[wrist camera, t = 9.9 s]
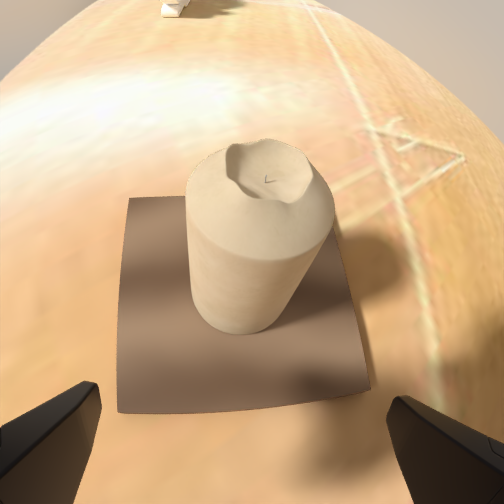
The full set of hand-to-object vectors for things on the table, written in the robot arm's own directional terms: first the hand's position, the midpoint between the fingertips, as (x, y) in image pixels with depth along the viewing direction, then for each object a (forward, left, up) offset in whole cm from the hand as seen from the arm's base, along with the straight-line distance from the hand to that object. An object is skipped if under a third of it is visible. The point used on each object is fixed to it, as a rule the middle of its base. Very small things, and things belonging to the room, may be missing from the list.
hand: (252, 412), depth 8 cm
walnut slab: (+7, -1, -9) cm, 12 cm away
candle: (+7, -1, -8) cm, 11 cm away
